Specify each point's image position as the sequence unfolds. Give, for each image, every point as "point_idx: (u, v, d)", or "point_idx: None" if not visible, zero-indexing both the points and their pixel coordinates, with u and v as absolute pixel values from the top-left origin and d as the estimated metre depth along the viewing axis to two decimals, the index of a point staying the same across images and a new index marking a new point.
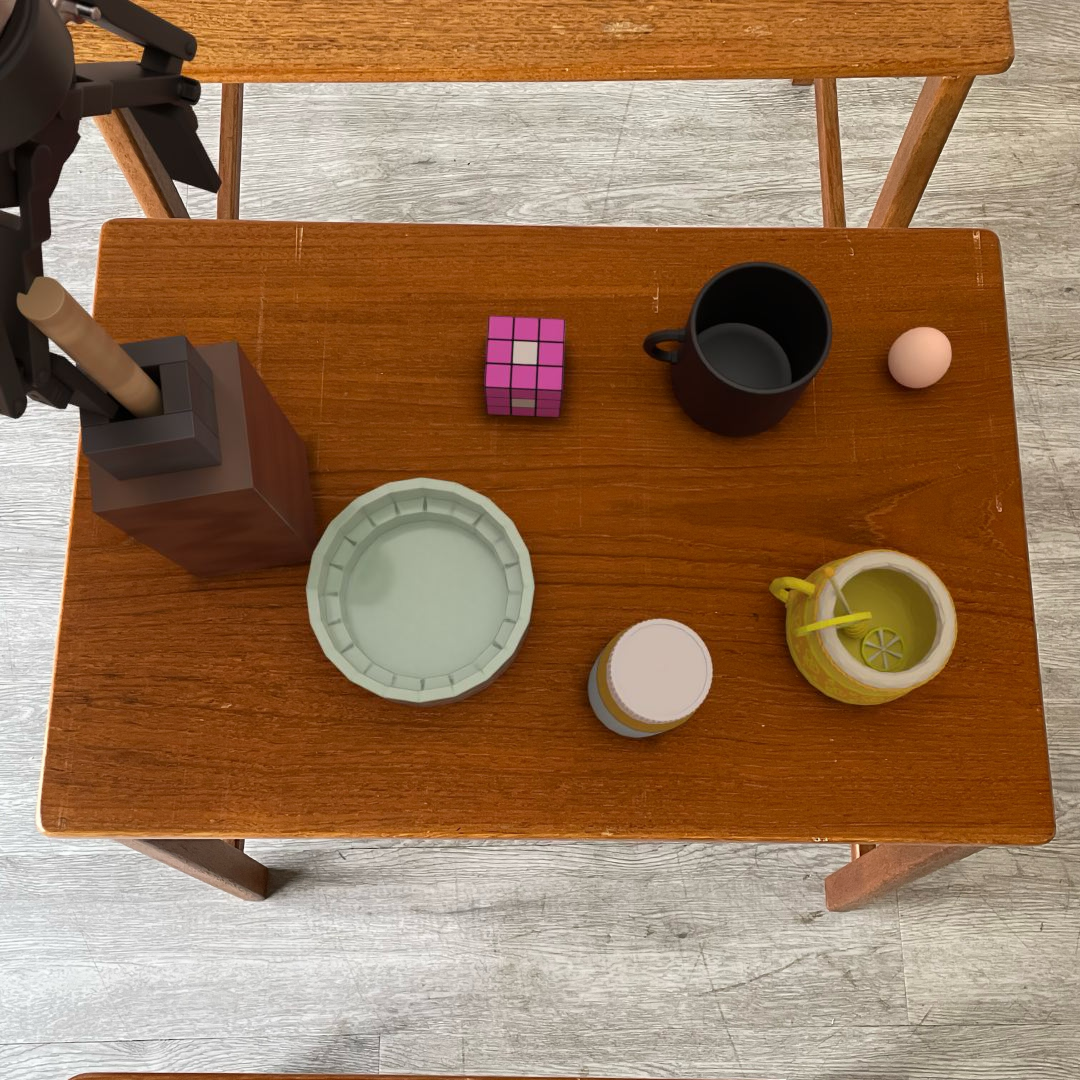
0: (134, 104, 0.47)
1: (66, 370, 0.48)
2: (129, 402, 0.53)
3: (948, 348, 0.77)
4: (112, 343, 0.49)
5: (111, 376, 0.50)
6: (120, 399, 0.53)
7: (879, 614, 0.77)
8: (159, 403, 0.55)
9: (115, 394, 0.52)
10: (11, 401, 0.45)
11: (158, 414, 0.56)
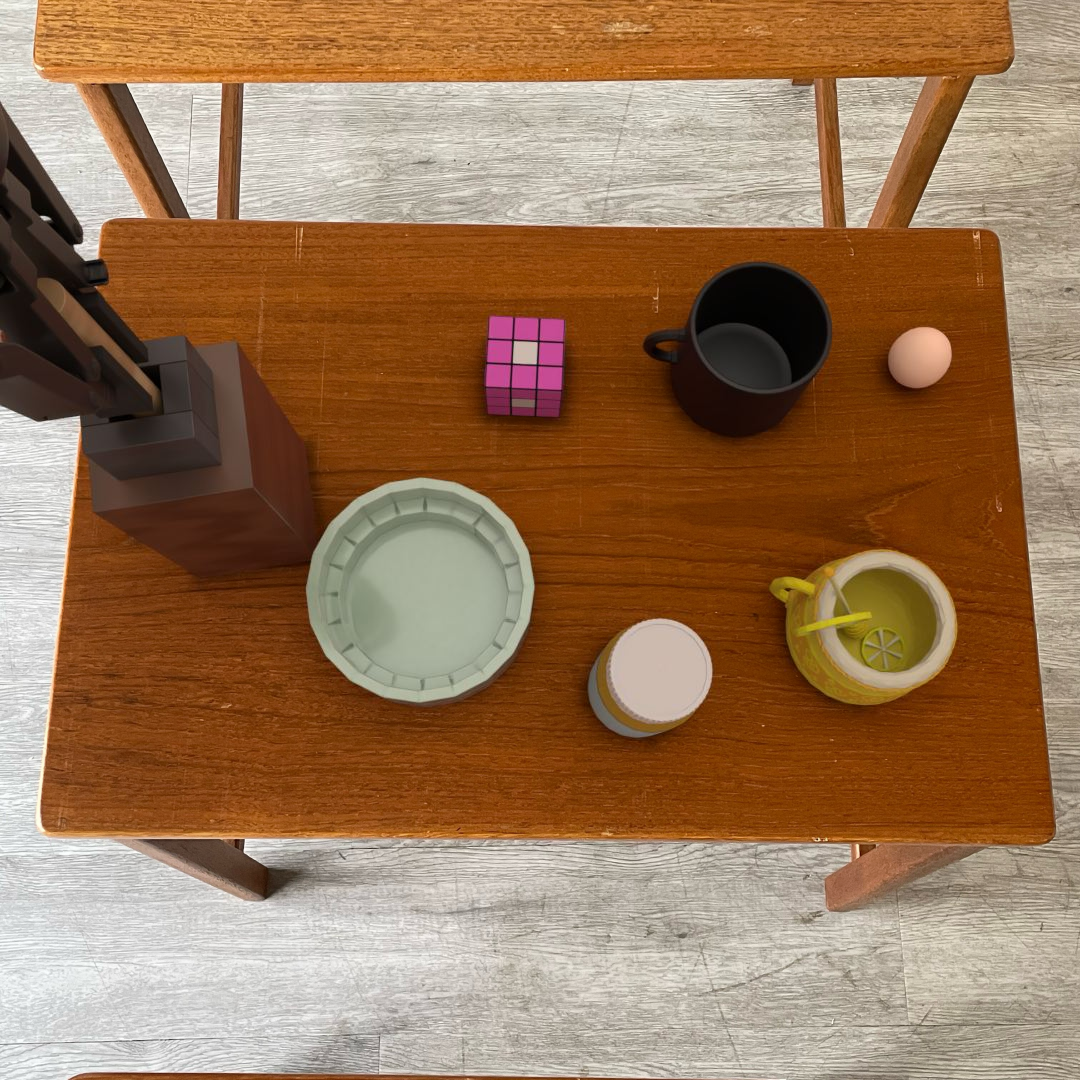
0: (49, 248, 0.42)
1: (108, 359, 0.47)
2: None
3: (948, 348, 0.77)
4: (113, 345, 0.49)
5: None
6: None
7: (879, 614, 0.77)
8: (159, 405, 0.55)
9: None
10: (88, 404, 0.44)
11: None
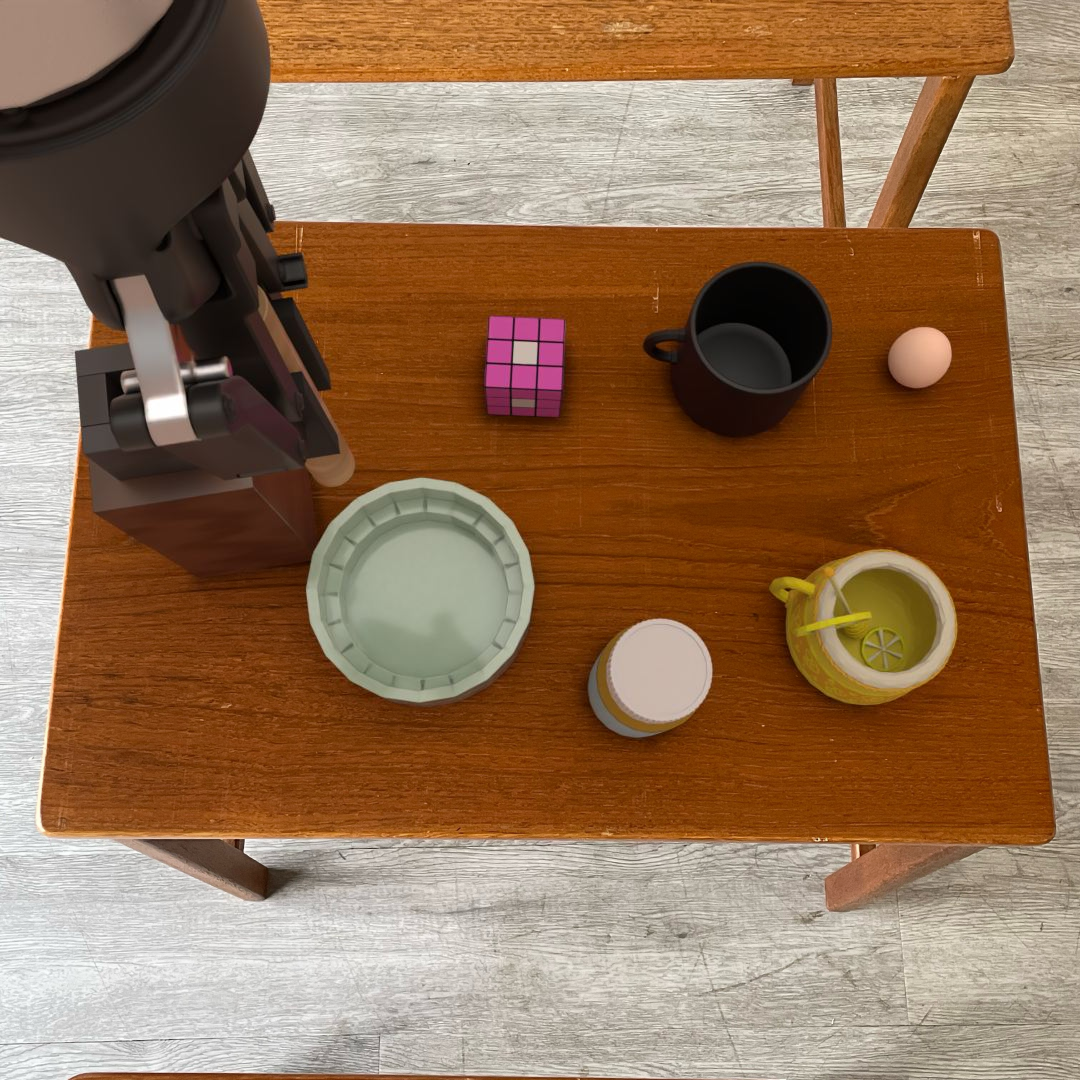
0: (252, 236, 0.30)
1: (307, 390, 0.34)
2: None
3: (948, 348, 0.77)
4: (304, 369, 0.36)
5: None
6: None
7: (879, 614, 0.77)
8: None
9: None
10: (298, 455, 0.31)
11: (333, 458, 0.43)
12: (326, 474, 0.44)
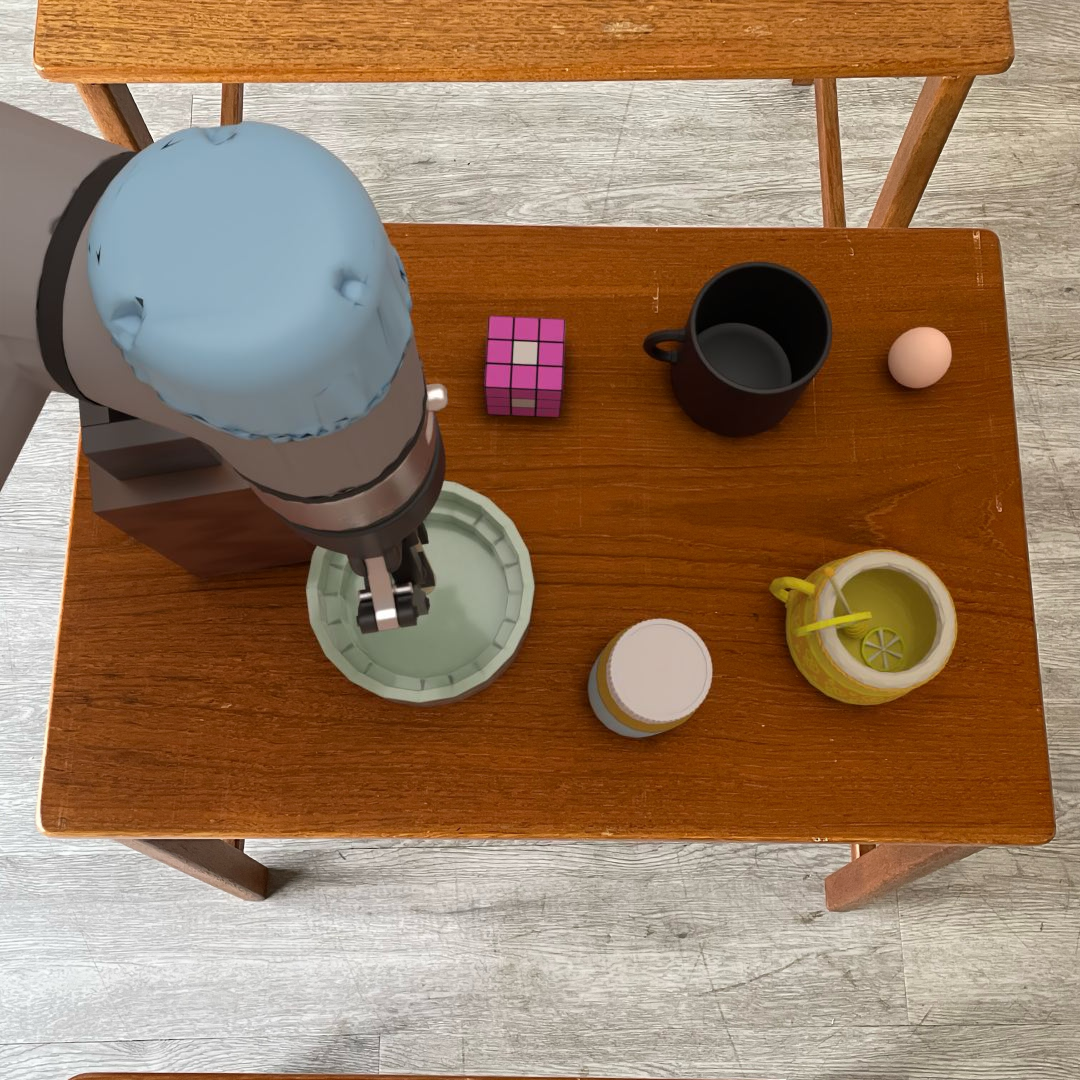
0: None
1: (425, 561, 0.57)
2: None
3: (948, 348, 0.77)
4: (420, 542, 0.59)
5: None
6: None
7: (879, 614, 0.77)
8: None
9: None
10: (426, 608, 0.54)
11: None
12: None
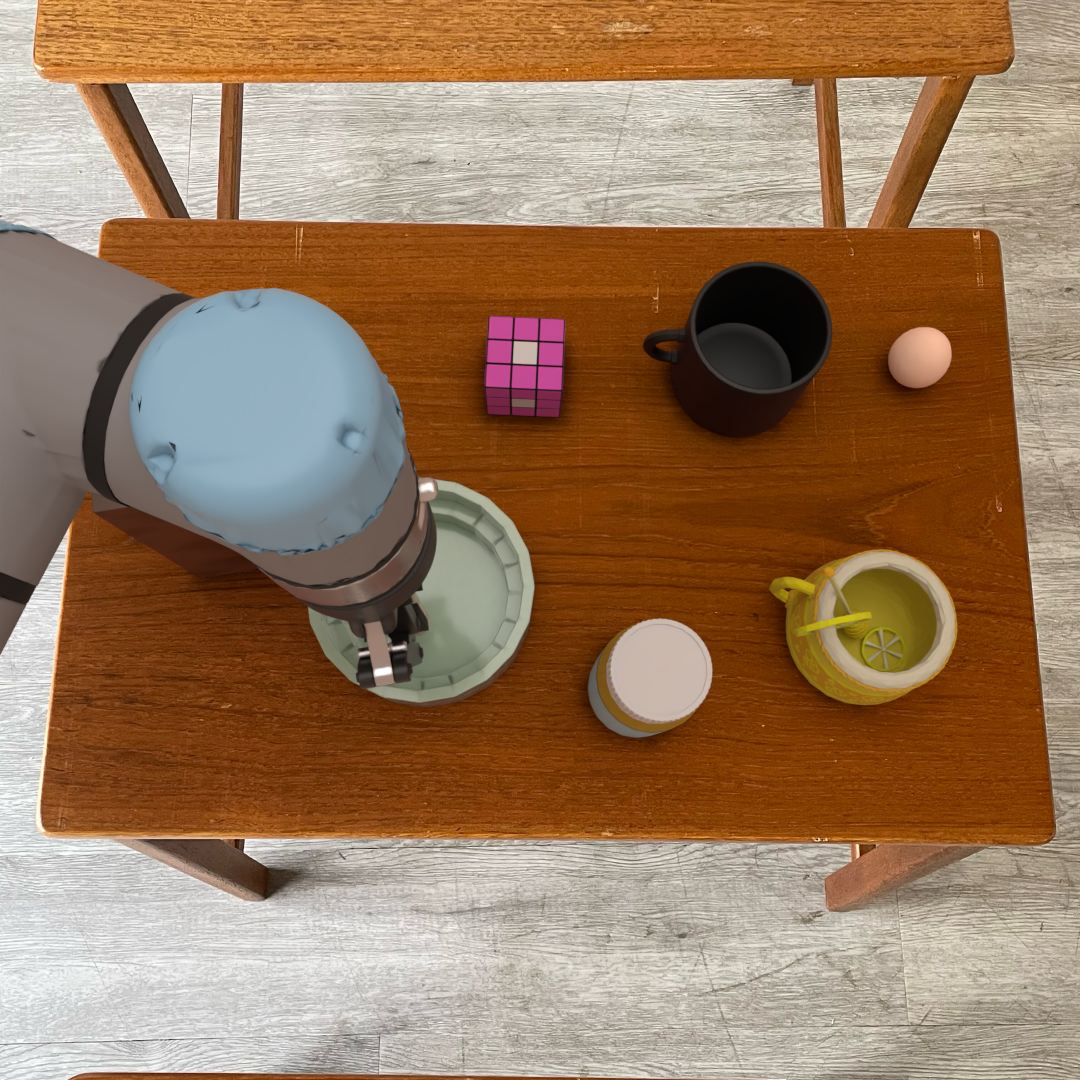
0: None
1: (419, 611, 0.62)
2: None
3: (948, 348, 0.77)
4: (414, 593, 0.63)
5: None
6: None
7: (879, 614, 0.77)
8: None
9: None
10: (420, 657, 0.59)
11: None
12: None
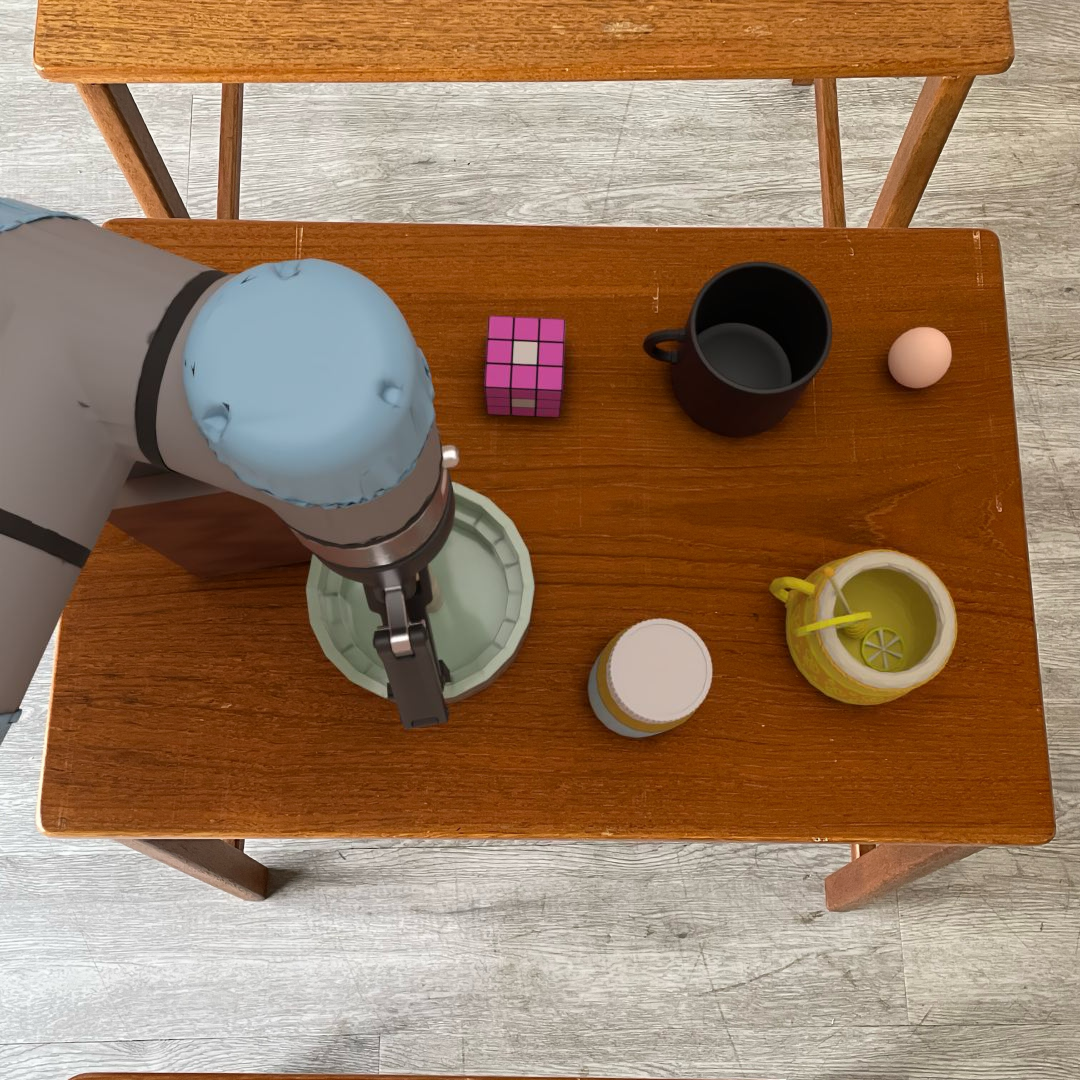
0: None
1: (443, 667, 0.61)
2: None
3: (948, 348, 0.77)
4: None
5: None
6: None
7: (879, 614, 0.77)
8: (438, 595, 0.73)
9: None
10: (445, 711, 0.57)
11: (435, 601, 0.73)
12: (428, 608, 0.74)
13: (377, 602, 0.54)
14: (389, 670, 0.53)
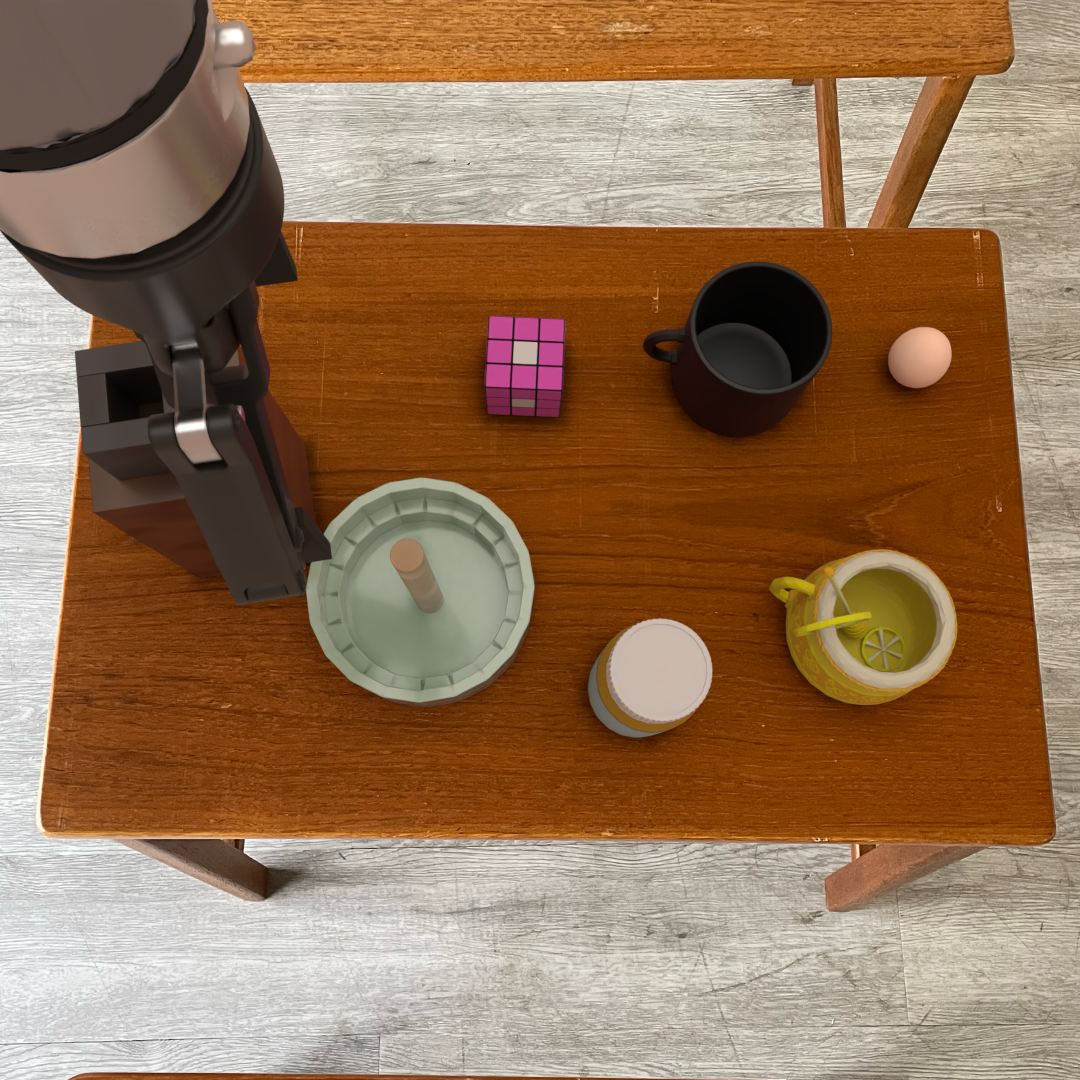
0: None
1: (306, 521, 0.41)
2: (423, 599, 0.71)
3: (948, 348, 0.77)
4: None
5: (424, 589, 0.67)
6: (418, 598, 0.70)
7: (879, 614, 0.77)
8: (438, 595, 0.73)
9: (418, 596, 0.69)
10: (297, 576, 0.38)
11: (435, 601, 0.73)
12: (428, 608, 0.74)
13: None
14: (189, 491, 0.33)
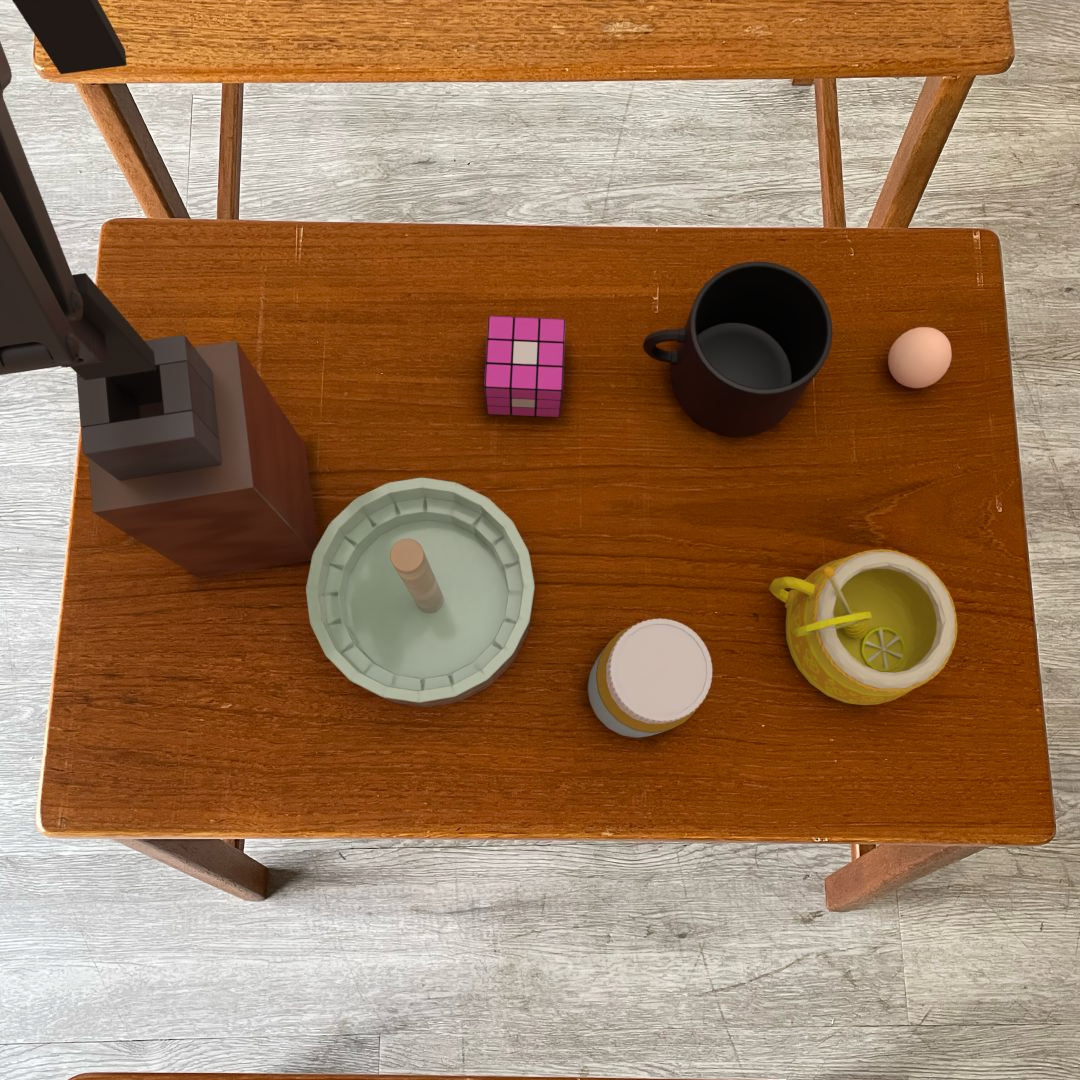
0: None
1: (94, 294, 0.34)
2: (423, 599, 0.71)
3: (948, 348, 0.77)
4: None
5: (424, 589, 0.67)
6: (418, 598, 0.70)
7: (879, 614, 0.77)
8: (438, 595, 0.73)
9: (418, 596, 0.69)
10: (62, 336, 0.31)
11: (435, 601, 0.73)
12: (428, 608, 0.74)
13: None
14: None
